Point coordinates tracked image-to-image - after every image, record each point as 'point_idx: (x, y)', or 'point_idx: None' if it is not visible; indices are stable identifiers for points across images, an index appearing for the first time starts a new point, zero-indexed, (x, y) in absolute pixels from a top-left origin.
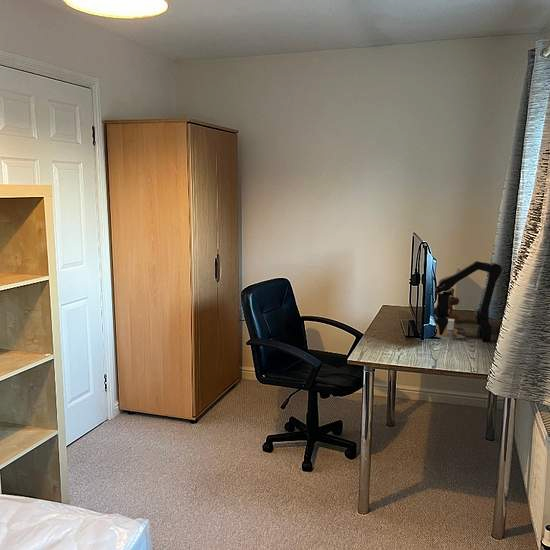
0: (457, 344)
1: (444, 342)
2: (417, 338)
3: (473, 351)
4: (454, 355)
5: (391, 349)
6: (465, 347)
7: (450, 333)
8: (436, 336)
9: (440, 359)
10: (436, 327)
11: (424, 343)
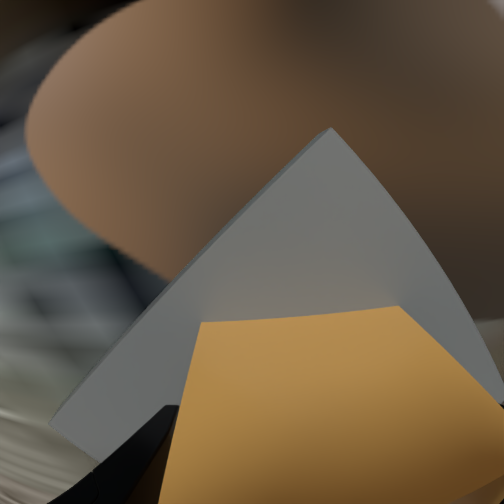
0: (65, 478)
1: (36, 403)
2: (25, 67)
3: (8, 496)
4: None
5: None
6: (39, 494)
7: None
8: (118, 343)
9: None
10: (177, 447)
11: None
